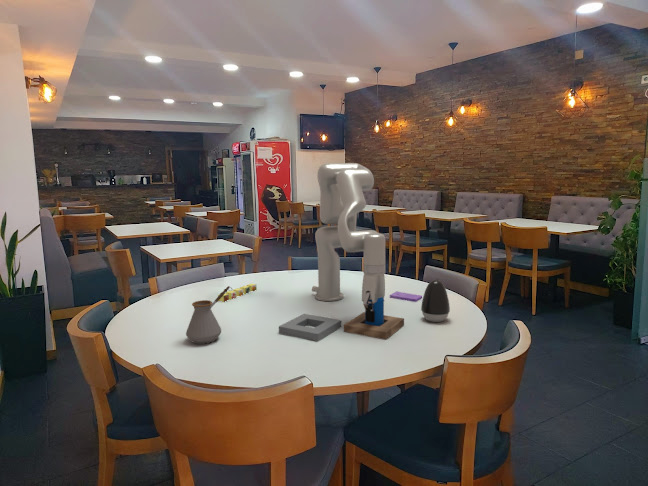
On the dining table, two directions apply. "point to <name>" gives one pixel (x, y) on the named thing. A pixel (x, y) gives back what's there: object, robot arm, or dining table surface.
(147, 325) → the dining table surface
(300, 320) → the socket
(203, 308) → the coffee pot
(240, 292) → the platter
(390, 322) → the socket
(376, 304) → the beverage can
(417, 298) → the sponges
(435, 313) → the black rounded egg shape
